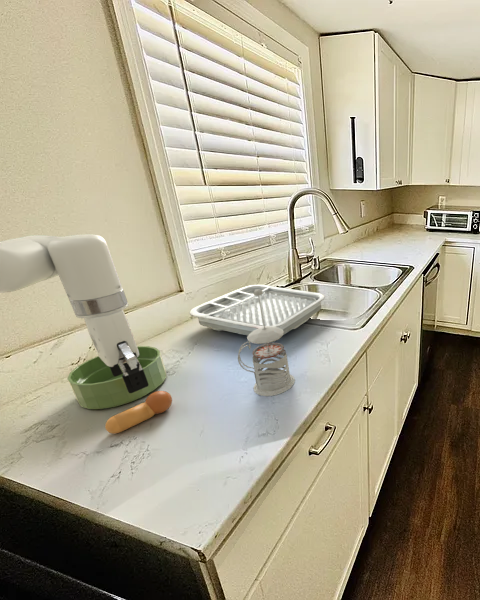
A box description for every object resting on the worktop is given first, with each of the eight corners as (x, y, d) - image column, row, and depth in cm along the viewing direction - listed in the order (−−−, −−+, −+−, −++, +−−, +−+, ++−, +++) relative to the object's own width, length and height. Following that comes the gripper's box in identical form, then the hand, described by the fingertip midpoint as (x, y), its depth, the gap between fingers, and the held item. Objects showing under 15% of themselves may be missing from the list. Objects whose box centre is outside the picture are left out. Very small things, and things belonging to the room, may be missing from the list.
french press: (296, 390, 78) (281, 293, 70) (243, 402, 75) (221, 300, 66) (293, 369, 87) (280, 280, 78) (246, 378, 83) (226, 286, 74)
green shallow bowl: (89, 422, 69) (77, 394, 67) (71, 392, 79) (60, 367, 76) (178, 383, 82) (170, 359, 79) (153, 362, 91) (145, 340, 89)
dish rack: (276, 352, 96) (272, 328, 93) (186, 333, 108) (180, 311, 105) (332, 312, 123) (330, 292, 120) (256, 301, 135) (252, 282, 132)
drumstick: (112, 441, 64) (104, 422, 62) (105, 431, 67) (97, 412, 65) (178, 409, 73) (172, 391, 71) (169, 401, 75) (164, 383, 74)
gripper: (62, 299, 62) (95, 375, 68) (85, 321, 52) (121, 407, 58) (112, 288, 68) (138, 359, 74) (141, 306, 58) (168, 386, 64)
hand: (130, 380), depth 66 cm, fingers open, 9 cm apart
